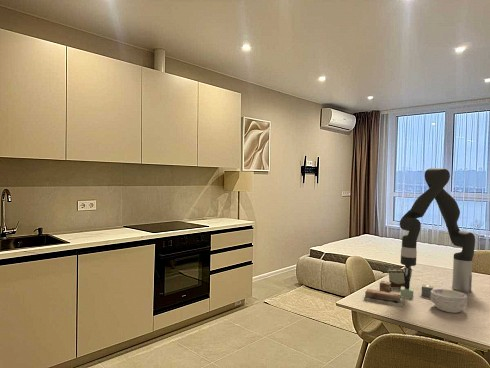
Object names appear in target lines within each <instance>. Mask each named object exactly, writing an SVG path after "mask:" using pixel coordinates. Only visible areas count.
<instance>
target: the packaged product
mask: <svg viewBox="0 0 490 368" xmlns="http://www.w3.org/2000/svg"><path fill="white" fill-rule="evenodd" d="M363 301H367V302H371V303H377V304H382V305H386V306H387V305H388V306H394V307H398V308H403V306H404V303H405V299H401V297H400V294H399V293H398V294H397V293H394V292H390V293H388V292H383V291H379V289H377V290H376V289H372V288H367V289H366V290H365V292H364V298H363Z"/></svg>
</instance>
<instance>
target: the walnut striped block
mask: <svg viewBox="0 0 490 368" xmlns="http://www.w3.org/2000/svg"><path fill="white" fill-rule="evenodd" d="M391 289H392V287H391V282H389V281H385V280H381V281H380V282H379V289H378V291H383V292H388V293H392V292H391V291H392V290H391Z"/></svg>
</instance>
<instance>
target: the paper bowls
mask: <svg viewBox="0 0 490 368" xmlns="http://www.w3.org/2000/svg"><path fill="white" fill-rule="evenodd" d="M430 296H431V297H429V298H430V299H429V300H430V302H432V304H434V306H435V308H436V309H438V310H439V311H442V312H446V313H451V314H452V313H454V314H457V313H460V312H462V310H463V309H465V308H467V307H468V306H467V305H468V295H467V294H465V293H464V292H462V291H458V290H454V289H453V290H451V289H445V288H444V289H443V288H433V290H431V295H430Z"/></svg>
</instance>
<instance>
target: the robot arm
mask: <svg viewBox="0 0 490 368" xmlns="http://www.w3.org/2000/svg"><path fill="white" fill-rule="evenodd" d="M450 178H451V174H450V171H449V170H448V169H447V168H443V167H441V168H440V167H438V168H437V167H436V168H435V167H434V168H433V167H431V168H428V169H426V170H425V171H424V180H425V183H426V185H427V186H428V189H426V191H424V192H423V193H421V194H420V195H419V196H418V197H417V198H416V199H415V200H414V203H413V204H412V206H411V208H410V209H409V210H407V212H406V213H405V214H404V215H403V216H402V217H401V219H400V220H399V227H400V229H401V230H403V231H408V233H407V235H403V236H402V238H401V249H400V264H401V265H403V266H404V268H402V269H403V271H404V281H405V288H406V289H409V288H411V287H410V286H411V279H412V274H413V268H412V267H415V266H416V265H417V253H418V251H417V250H418V249H417V241H418V237H419V235H420V232H421V229H422V224H421V221H420V220H419V219H420V218H423V216H425V214H426V212H427V210H429V209H428V208H429V207H430V205H431V204H432V202H433V201H434V200H435V202H436V204H437V206H438V209H439V211H440V214H441V216H442V219H443V220H444V223H445V226H446V228H447V232H448V235H449V239H450V241H451V244H452V245H454V246H455V247H459V248H462V250H461V251H460V252H459V251H458V252H455V253H454V254H453V259H452V260H453V264H452V281H451V282H452V284H451V285H452V288H451V289H453V290H454V291H457V292H463V293H464V292H465V293H467V292H469V293H471V292H472V281H473V280H472V279H473V259H474V255H475V247H476V236H475V234H474V233H473V232H469V231H464V230H460V228H459V225H458V221H459V218H460V215H461V210H460V208H459V205H458V203H457V201H456V200H455V199H454V197H453V196H452V195H450V193H449V192H447V191H446V190H445V189H444V188H445V187H446V186H447V184H448V183H449V181H450ZM418 218H419V219H418Z"/></svg>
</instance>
